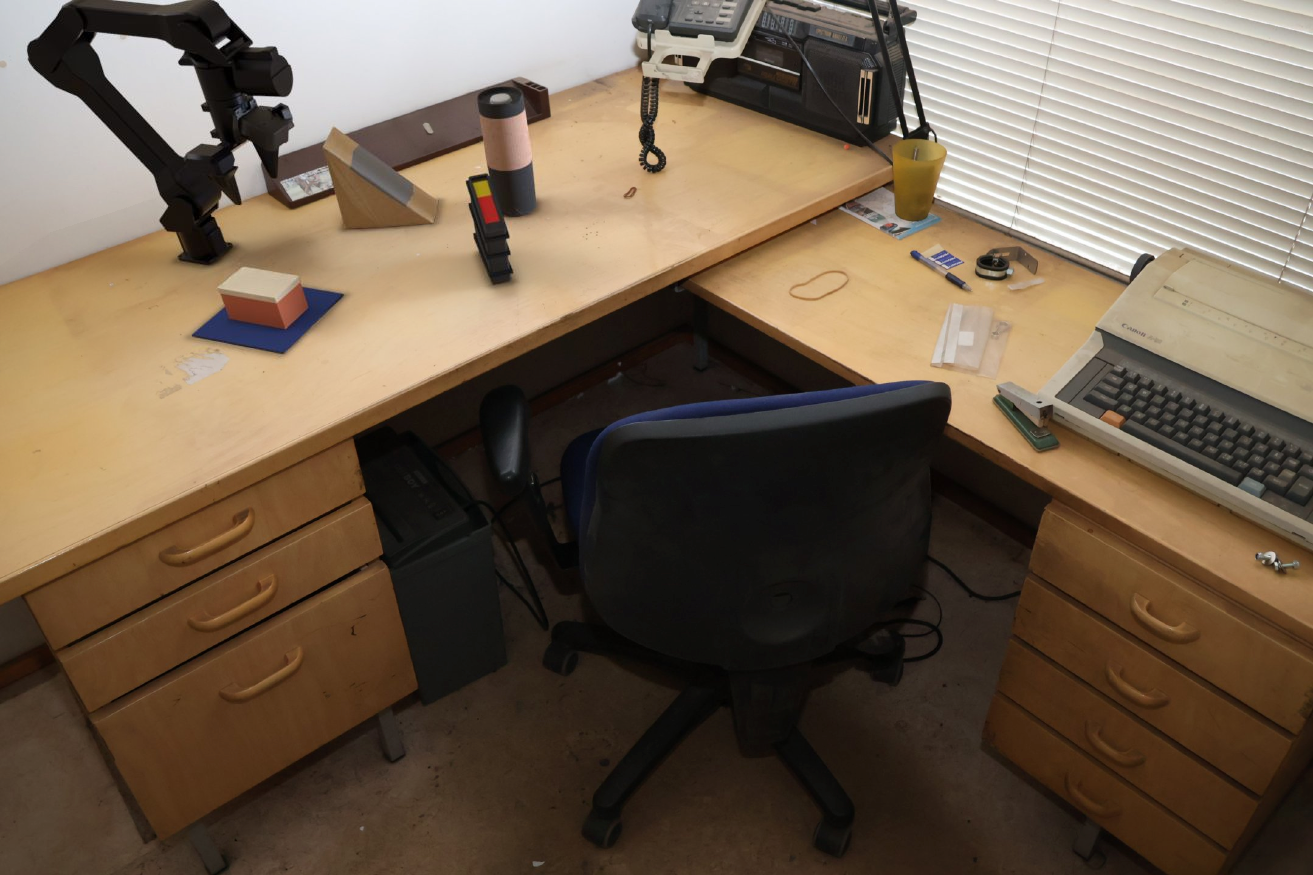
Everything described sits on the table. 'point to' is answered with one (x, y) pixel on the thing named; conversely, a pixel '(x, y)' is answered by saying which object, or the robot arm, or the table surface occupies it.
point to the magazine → (489, 228)
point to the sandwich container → (373, 188)
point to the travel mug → (508, 149)
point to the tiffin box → (263, 297)
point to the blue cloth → (268, 336)
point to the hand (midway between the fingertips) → (256, 191)
